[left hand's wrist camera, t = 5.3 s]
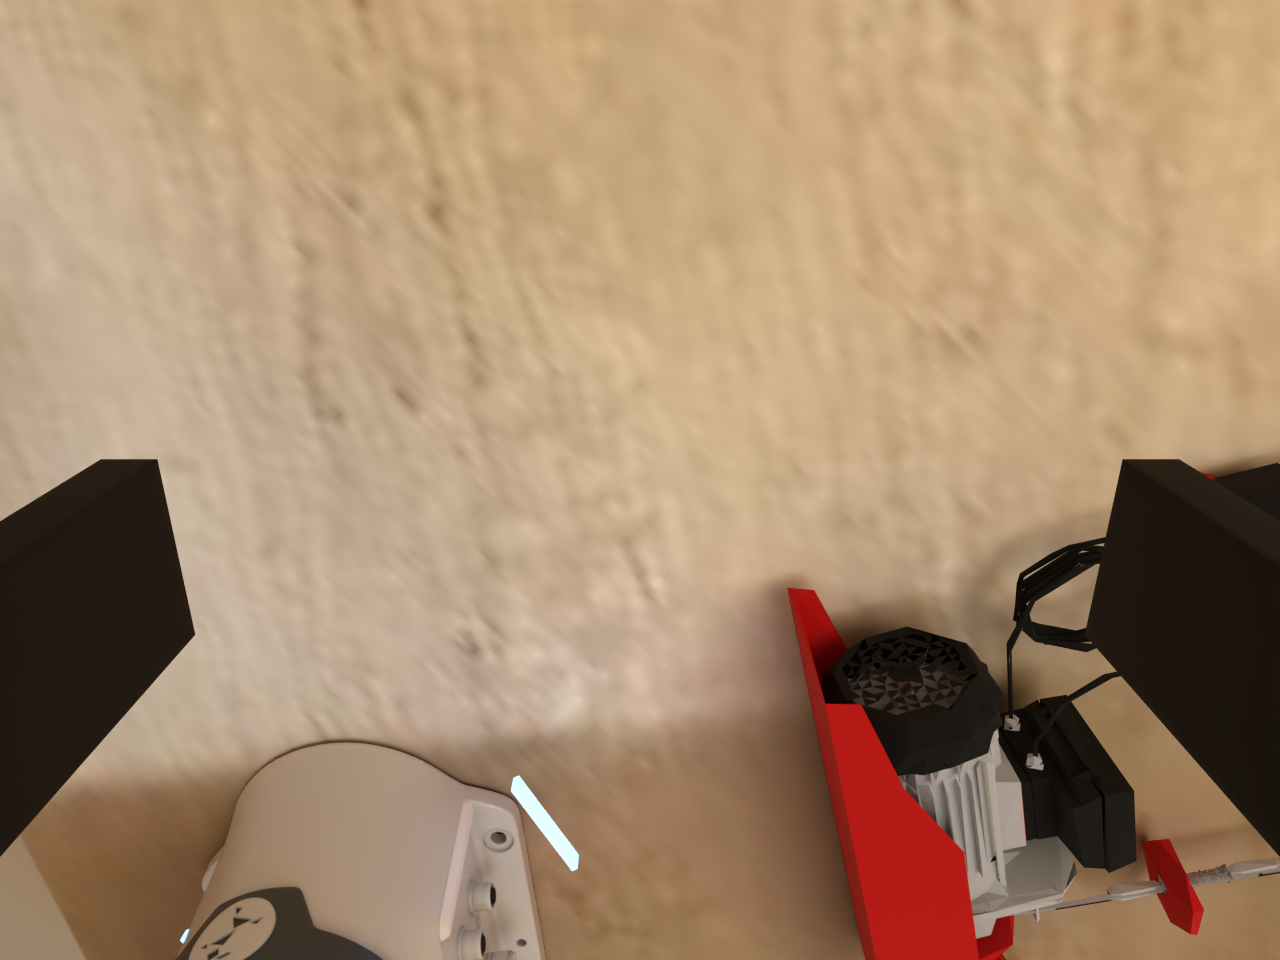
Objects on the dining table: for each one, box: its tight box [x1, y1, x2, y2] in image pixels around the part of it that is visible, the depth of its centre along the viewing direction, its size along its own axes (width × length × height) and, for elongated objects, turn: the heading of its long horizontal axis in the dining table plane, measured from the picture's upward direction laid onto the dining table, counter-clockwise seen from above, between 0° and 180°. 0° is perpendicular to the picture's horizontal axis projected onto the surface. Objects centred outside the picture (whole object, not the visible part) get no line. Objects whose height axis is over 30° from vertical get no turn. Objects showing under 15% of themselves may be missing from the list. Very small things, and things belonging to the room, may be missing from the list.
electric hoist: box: [787, 463, 1280, 960], centre depth 43 cm, size 10×27×30 cm
